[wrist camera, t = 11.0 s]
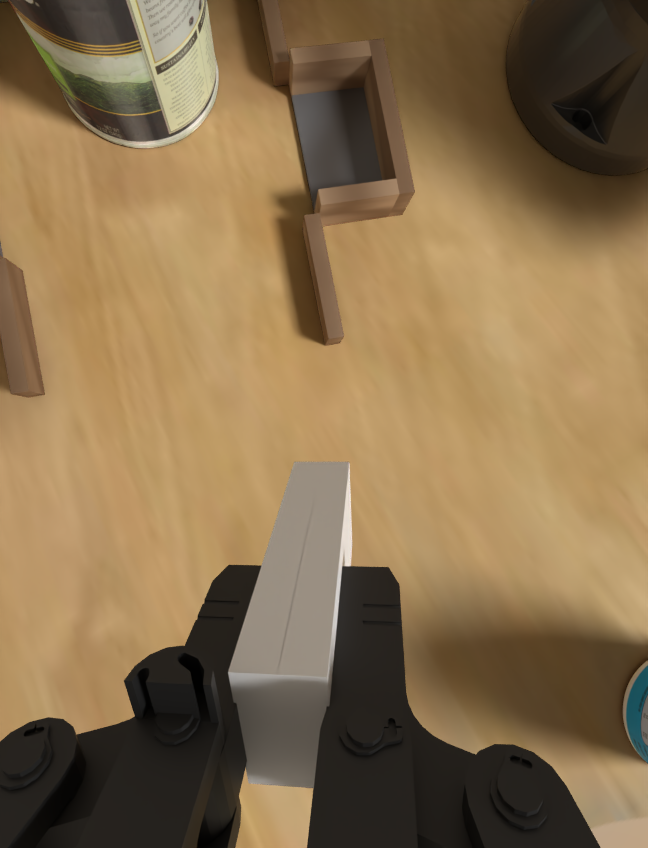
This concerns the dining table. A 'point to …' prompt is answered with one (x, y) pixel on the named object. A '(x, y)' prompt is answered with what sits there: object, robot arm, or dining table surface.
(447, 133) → the dining table surface
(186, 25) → the coffee can
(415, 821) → the robot arm
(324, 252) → the wooden tray
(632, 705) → the beverage bottle
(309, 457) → the dining table surface
